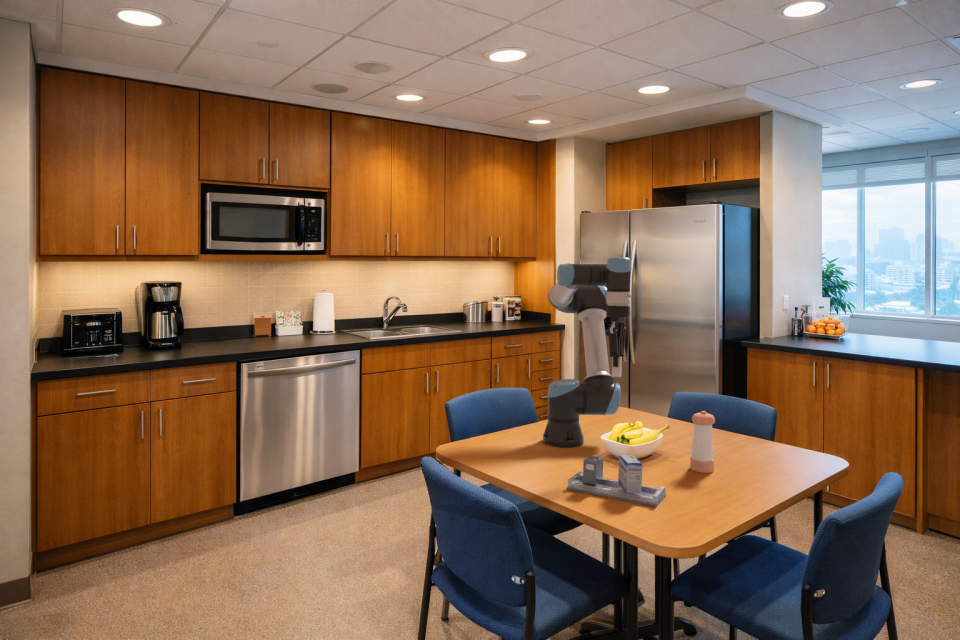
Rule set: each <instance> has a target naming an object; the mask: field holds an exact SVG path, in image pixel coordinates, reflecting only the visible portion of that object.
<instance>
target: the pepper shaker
mask: <svg viewBox="0 0 960 640" xmlns="http://www.w3.org/2000/svg"><path fill="white" fill-rule="evenodd" d="M691 420H692V423H693V424H694V425H693V428H694V429H693V439H692V444H691V456H690V458H689V461H690V463H689V464H690V465H689V469H690V470H691V471H693V472H697V473H701V474H702V473H703V474H709V473H710V474H711V473H713V472H714V470H715V459H714V445H713V444H714V443H713V425H714V424H715V423H716V418H715V416H714V415H713V414H712V413H711V414H710V413H707V411H706V410H701V411H700V412H696V413H694V414H693V415H692V417H691Z"/></svg>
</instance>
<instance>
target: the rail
mask: <svg viewBox="0 0 960 640" xmlns="http://www.w3.org/2000/svg"><path fill="white" fill-rule="evenodd" d="M582 468H583V469H582V470H583V471H581V470H580V471H578V472H577V473H575V474H574V475H573V476H571V477H570V478H569V479H568V480H567V487H566V488H567V491H573V492H576V493H577V492H578V493H583V494H586V495H594V496H598V497H603V498H608V499H613V500H617V501H623V502H627V503H628V502H629V503H631V504H632V503H633V504H638V505H644V506H647V507H653V508H657V507H658V506H659V505H660V504H661V502H662V501H663V500H664V499H665V497H666V496H667V492H666V489H667V488H666V486H663V485H661V486H660V487H655V486H654V487H653V486H648V485H644V484H642V492H641V493H627V492H626V491H625V490H624V489H623V488H622V487H621V486H620V485H619V483H618V480H617V479H616V480H615V479H609V478H604V457H601V456H595V455H589V456H588V457H586V458H585V459H583V467H582Z"/></svg>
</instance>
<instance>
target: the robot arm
mask: <svg viewBox="0 0 960 640" xmlns="http://www.w3.org/2000/svg"><path fill="white" fill-rule="evenodd" d="M606 262H607V263H561V264H558V266H557V271H556V283H555V284H553V285H552V286H551V287H550V288H549V291H548V293H547V297H548V298H547V299H548V302H549V304H550V305H551V306H552V307H553V309H556V310H557V311H559V312H561V313H564V314H577V319H578V320H579V321H580V322H581V327H582V338H583V346H584V358H585V370H586V376H585V377H584V378H583V381H582V382H583V383H581V381H580V380H579V379H576V378H565V379H558V380H555V381H551V383H550V384H549V385H548V389H547V390H548V392H547V398H548V399H547V400H548V401H547V424H546V426H545V429H544V432H543V434H542V442H543V444H545V445H548V446H550V447H555V448H575V447H580V445H581V446H583V445H584V442H585V441H584V439H585V438H584V434H583V431H582V427H581V424H580V416H582V415H583V416H587V415H588V416H591V415H592V416H602V415H603V416H607V415H608V416H610V415H615V414H616V413H617V412H618V410H619V408H620V404H621V397H622V396H621V394H622V389H621V384H620V383H618V382H615V378H616V377H617V378H621V377H622V370H623V369H622V366H623V365H622V363H623V361H622V360H623V358H624V357H625V356H626V355H625V347H626V334H627V328H628V324H626V322H625V318H629V317H630V316H631V313H630V312H631V307H630V305H629V304H630V303H631V298H632V294H631V276H632V275H631V270H632V267H631V265H632V264H631V263H632V262H631V259H630V257H626V256H625V257H621V256H620V257H609V258H607V261H606ZM607 317H608V318H610V323H609V326H608V327H607V333H608V342H609V343H608V345H609V355H608V349H607V339H606V338H607V337H606V328H605V321H604V320H605V319H606V318H607ZM608 356H609V357H610V358H611V359H612V360H611V362H612V363H611V374H610V365H609V357H608ZM622 357H623V358H622Z"/></svg>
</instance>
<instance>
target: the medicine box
mask: <svg viewBox="0 0 960 640" xmlns="http://www.w3.org/2000/svg"><path fill="white" fill-rule="evenodd" d="M617 478H618V480H617V481H618V483H619V485H620V486H621V487H622V488H623V489H624V490H625V491H626V492H627V493H641V492H642V485H643V463H642V462H641V461H640V460H639V459H638V458H637V457H636V456H635V455H633V454H620V455H618V477H617Z"/></svg>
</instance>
